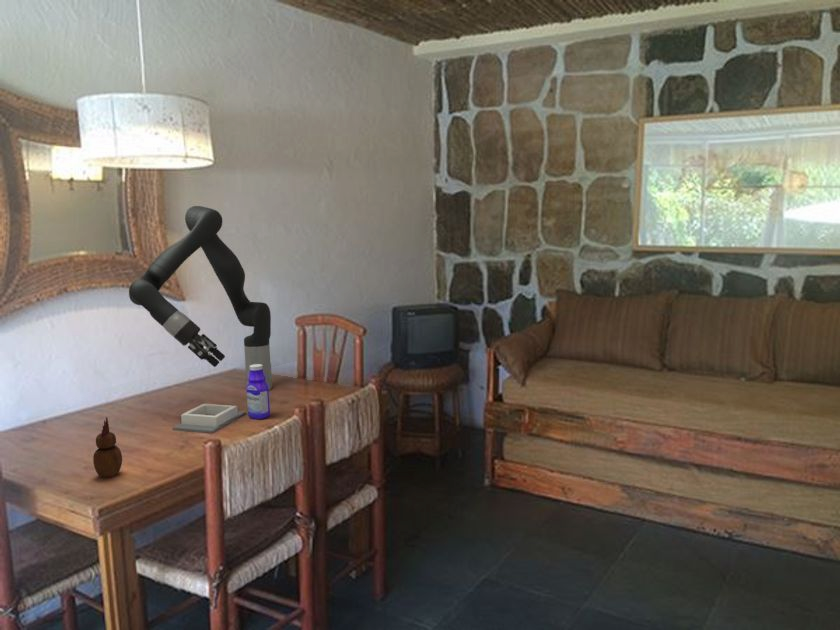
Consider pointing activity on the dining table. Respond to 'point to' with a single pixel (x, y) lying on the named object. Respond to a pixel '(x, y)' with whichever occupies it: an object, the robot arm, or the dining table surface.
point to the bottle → (257, 393)
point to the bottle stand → (208, 418)
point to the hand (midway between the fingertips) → (220, 361)
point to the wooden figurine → (107, 453)
